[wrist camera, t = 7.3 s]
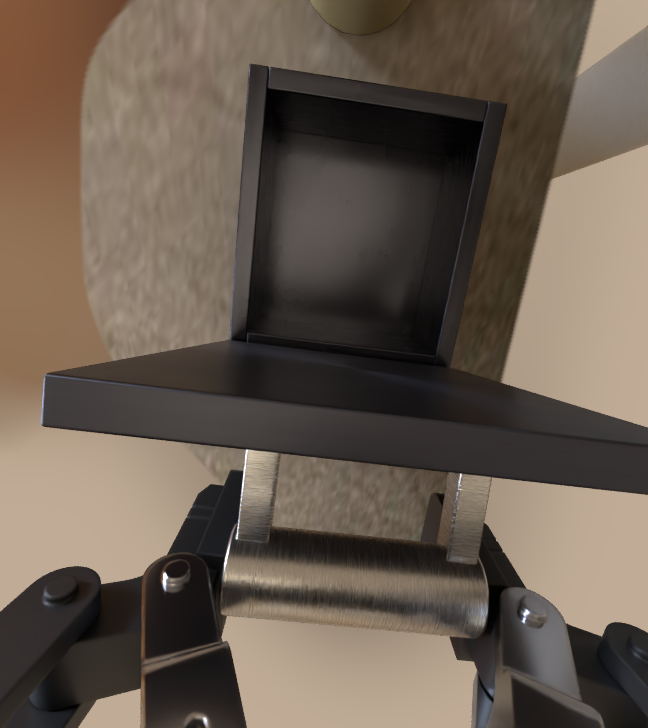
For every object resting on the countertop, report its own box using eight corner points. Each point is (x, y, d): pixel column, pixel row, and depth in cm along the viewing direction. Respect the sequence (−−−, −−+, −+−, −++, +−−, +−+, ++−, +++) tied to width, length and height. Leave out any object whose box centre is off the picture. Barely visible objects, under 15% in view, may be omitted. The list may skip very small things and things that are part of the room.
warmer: (267, 115, 21) (249, 62, 16) (458, 145, 22) (507, 103, 16) (249, 327, 24) (228, 346, 18) (418, 348, 24) (448, 373, 19)
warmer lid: (42, 373, 6) (22, 703, 6) (743, 455, 6) (673, 756, 7) (227, 339, 18) (215, 449, 18) (453, 368, 18) (436, 474, 19)
